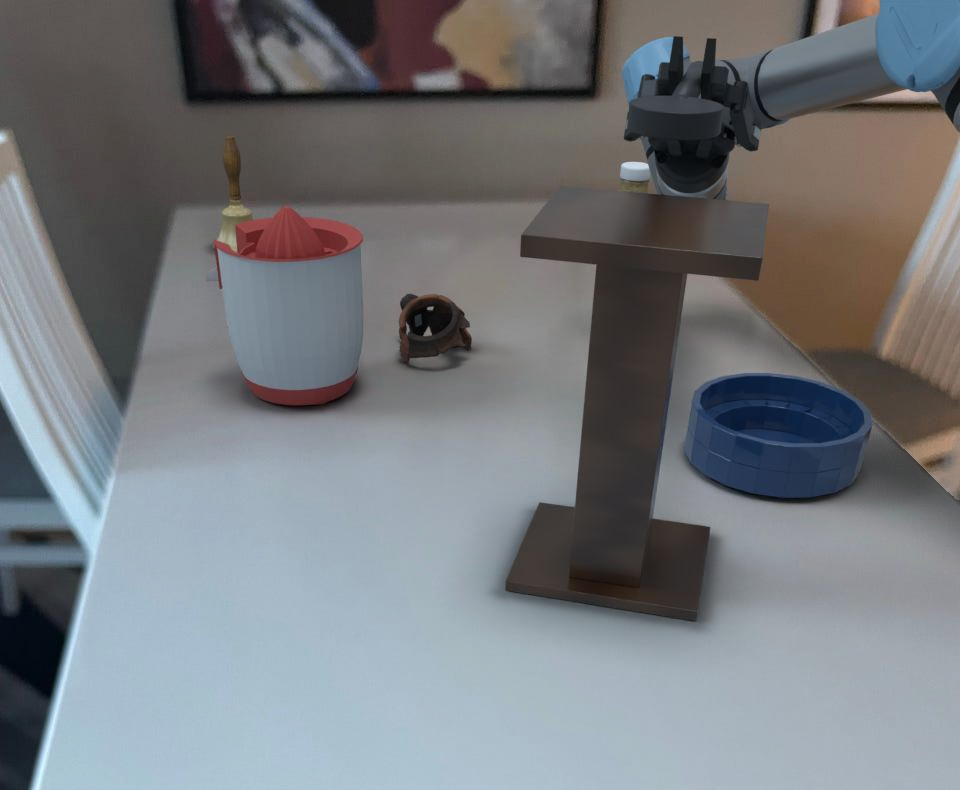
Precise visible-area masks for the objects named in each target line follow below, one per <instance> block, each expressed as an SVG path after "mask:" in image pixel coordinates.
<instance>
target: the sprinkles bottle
mask: <svg viewBox="0 0 960 790" xmlns="http://www.w3.org/2000/svg"><path fill="white" fill-rule="evenodd" d="M619 177H620V178H619V181H620V182H619V183H620V184H619V191H625V192H636V193H648V189H649V182H650V180H651V177H652V175H651V172H650V169H649V166H648V163H646V162H641V161H626V162H623V163H621V165H620V172H619Z"/></svg>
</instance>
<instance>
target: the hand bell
mask: <svg viewBox="0 0 960 790" xmlns="http://www.w3.org/2000/svg"><path fill="white" fill-rule="evenodd" d="M222 162H223V168H224V171H225V173H226V176H227V181H228V188H229V205H228V206H227V207H226V208H223V210H222V211H221V227H220V232H219V235H218V237H217V238H216V240H217V241H220V242H223V243H225V244H228V245H230V247H231V249H232V250H233V251H234V252H236V253H237V243H236V231H235V225H236V224H239V223H243V222H246V221H252V220H254V218H253V214H252V211H251V209H249V207H248V208H247V207H246V206H244V205H243V204H242V195H241V186H240V175H241V171H242V170H241V169H242V159H241V153H240V149H239V146H238V144H237V142H236V139H235V136H234V135H233V134H226V135H225V137H224V143H223V149H222ZM212 247H213V248H214V244H213V245H212Z"/></svg>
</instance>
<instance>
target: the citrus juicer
mask: <svg viewBox="0 0 960 790" xmlns="http://www.w3.org/2000/svg"><path fill="white" fill-rule="evenodd" d="M235 231H236V243H237V253H236V252H234V251H233V250H232V249H231V247H230V245H228V244H225V243H223V242H220V241H217V239H215V238H214V239H213V245H214V247H213V249H214V257H215V263H216V267H214V268H211V269H209V270H208V272H207V273H206V277H205V282H206V283H208V282H209V283H210V282H218V286H219V290H222V297H223V304H224V312H225V321H226V325H227V330H228V336H229V339H230V343H231V346H232V350H233V353H234V356H235V359H236V361H237V363H238V366H239V368H240V371H241V375H242V377H243V378H244V381H245V382H246V384H247V386H248V388H249V390H250V391H251V392H252V393H253V395H254V396H256V397H257V398H259V399H261V400H263V401H265V402H268V403H273V404H278V405H285V406H309V405H314V406H322V405H326V404H327V403H328V402H330V401H334V400H337V399H338V398H341V397H342V396H344V395H345V394H347V393H348V392H349V391H350V390H351V388H352V386H353V384H354V381H355V379H356V376H357V373H358V371H359V363H360V359H361V354H362V349H363V340H364V323H365V321H364V319H365V315H364V313H365V312H364V292H363V291H364V290H363V288H364V287H363V269H362V268H363V267H362V246H361V245H362V243H363V241H364V236H363V234H362V233H361V231H360V230H359V229H358V228H356V227H354V226H352V225H350V224H348V223H344V222H341V221H337V220H333V219H327V218H321V217H320V218H319V217H307V216H301V215H300V213H298V212H297V211H296V210H295V209H293V208H292V207H291V206H289V205H285V206H282V207H281V208H280V209H279V210H277V212H276V213H275V214H274V215H273V217H268V218H267V217H265V218H257V219H253V220H252V221H246V222H243V223H239V224H236V225H235Z"/></svg>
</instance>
